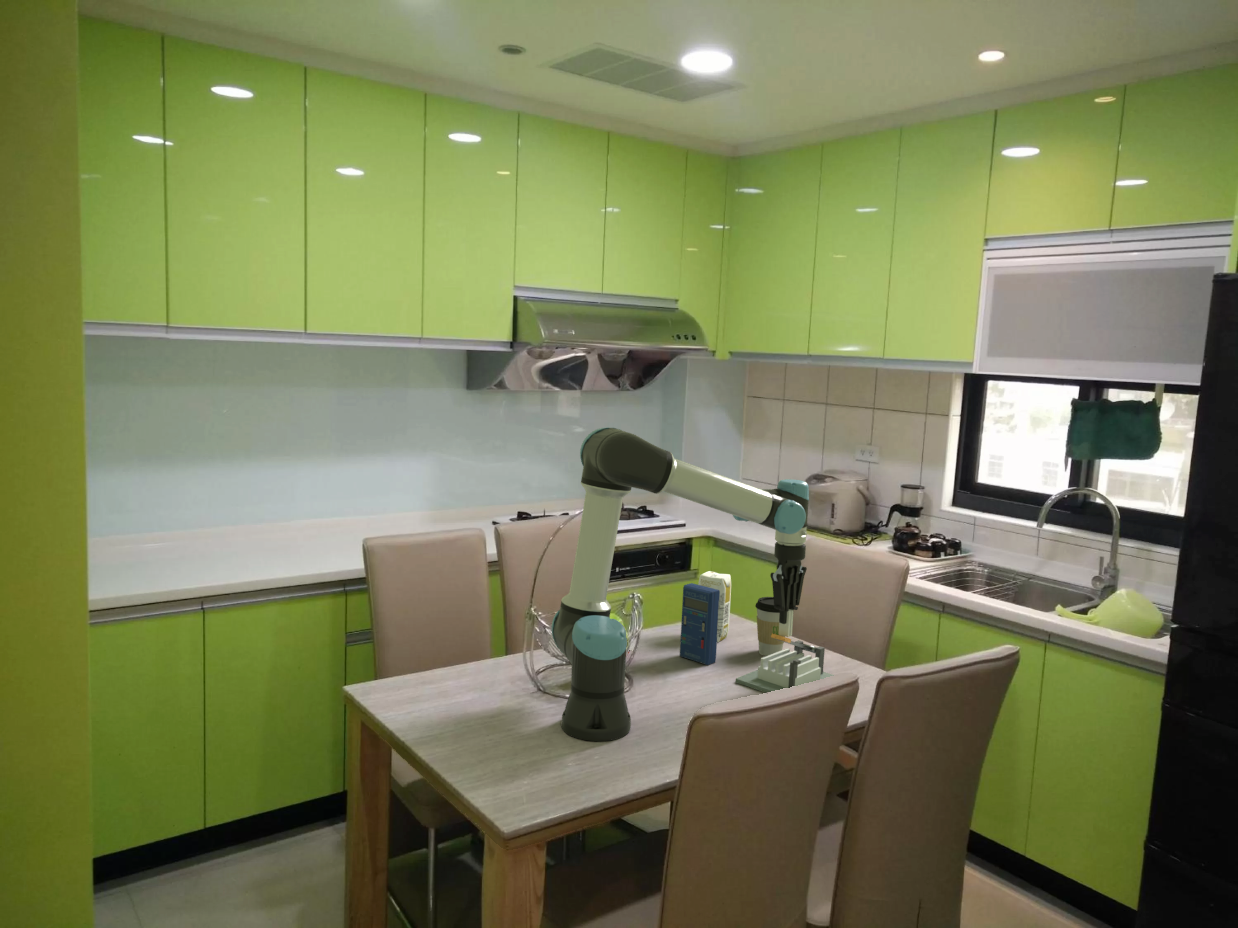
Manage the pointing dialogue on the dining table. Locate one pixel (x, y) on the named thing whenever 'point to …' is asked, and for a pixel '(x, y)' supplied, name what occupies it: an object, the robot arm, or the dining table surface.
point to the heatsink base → (786, 670)
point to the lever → (794, 643)
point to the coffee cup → (768, 626)
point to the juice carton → (724, 586)
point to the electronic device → (699, 623)
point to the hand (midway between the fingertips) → (785, 634)
